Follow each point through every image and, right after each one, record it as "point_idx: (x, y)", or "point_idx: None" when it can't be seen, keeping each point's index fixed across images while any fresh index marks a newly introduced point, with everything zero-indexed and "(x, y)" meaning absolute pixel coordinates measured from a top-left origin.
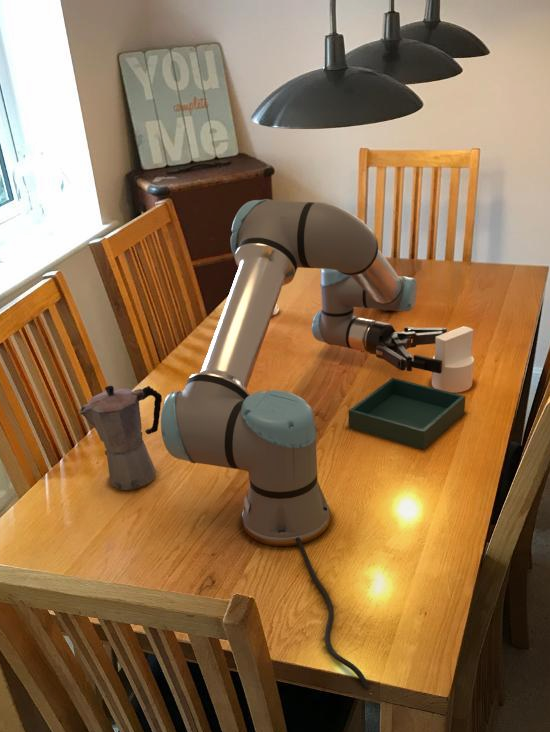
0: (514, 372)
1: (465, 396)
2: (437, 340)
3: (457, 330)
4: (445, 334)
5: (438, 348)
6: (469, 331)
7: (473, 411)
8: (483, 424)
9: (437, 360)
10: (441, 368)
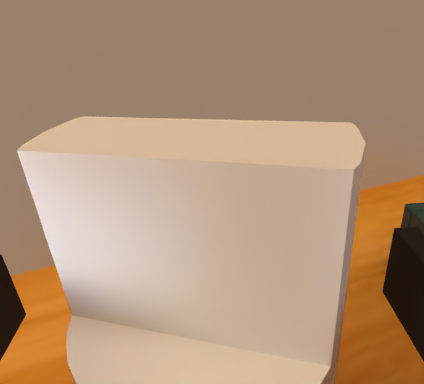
0: (25, 276)
1: (406, 204)
2: (360, 177)
3: (121, 143)
4: (246, 152)
5: (354, 228)
6: (114, 118)
7: (357, 252)
8: (392, 213)
9: (418, 245)
10: (390, 269)
